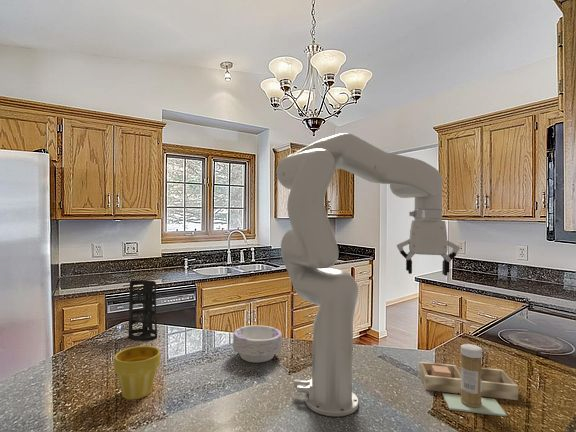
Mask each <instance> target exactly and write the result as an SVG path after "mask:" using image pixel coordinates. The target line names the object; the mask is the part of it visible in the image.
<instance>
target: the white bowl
mask: <svg viewBox="0 0 576 432" xmlns="http://www.w3.org/2000/svg"><path fill="white" fill-rule="evenodd" d="M232 335H233V336H232V339H233V340H232V349H233V350H234V352H235V353H238V355H239V356H240V357H241V359H242V360H244V361H245V362H247V363H248V362H249V363H254V364H255V363H257V364H258V363H259V364H260V363H265V362H268V361H270V360H272V359H273V358H274V356H275V355H276V354H278V353H279V352H280V351H281V350H282V340H283V333H282V331H281V330H280V329H278V328H276V327H273V326H268V325H254V324H253V325H246V326H241V327H239V328H236V329H235V330H234V331H233V334H232Z"/></svg>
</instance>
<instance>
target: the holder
mask: <svg viewBox="0 0 576 432" xmlns="http://www.w3.org/2000/svg"><path fill="white" fill-rule="evenodd" d="M137 285H143V286H142V287H143V289H142V290H134V286H137ZM128 294H129V298H128V299H129V303H128V339H131V340H137V341H151V340H152V341H153V340H156V339H157V338H158V326H157V325H158V323H157V321H158V320H157V282H156V281H155V280H145V279H144V280H143V279H141V280H131V281H129V293H128ZM134 295H137V299H136V300H135V299H134ZM137 304H138V305H140V304H141V305H142V309H133V308H134V307H133V306H135V305H137ZM135 314H136V319H133V315H135ZM139 323H142V326H141V328H136V329H135V328H134V329H133V325H134V324H139ZM153 325H154V328H153ZM134 334H137V335H134ZM150 335H152V336H150Z"/></svg>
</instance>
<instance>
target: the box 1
mask: <svg viewBox="0 0 576 432" xmlns="http://www.w3.org/2000/svg"><path fill="white" fill-rule="evenodd" d="M432 365H434V366H444V367H448V369H449V371H450V372H451V378H450V377H440V376H431V374H432ZM418 375H419V377H420V379H421V383H422V385H423V388H424V390H425V391H431V390H433V391H432V392H440V391H442V392H441V393H448V394H451V393H452V394H458V393H459V394H458V395H461V370H459V368H458V366H457V365H456V364H448V363H447V364H446V363H438V362H437V363H436V362H428V361H427V362H426V361H419V362H418Z"/></svg>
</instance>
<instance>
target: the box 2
mask: <svg viewBox="0 0 576 432" xmlns="http://www.w3.org/2000/svg"><path fill="white" fill-rule="evenodd" d="M481 379H482V391H481V397H484V398H493V399H503V400H505V399H506V400H514V401H519V385H518V384H517V383H516V382H515V381H514V380H513V379H512V377H510V375H508V374H507V373H506V372H505V370H504V369H499V368H491V367H490V368H488V367H481Z"/></svg>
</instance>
